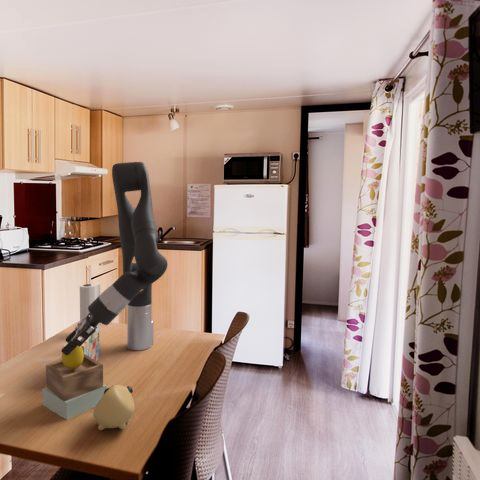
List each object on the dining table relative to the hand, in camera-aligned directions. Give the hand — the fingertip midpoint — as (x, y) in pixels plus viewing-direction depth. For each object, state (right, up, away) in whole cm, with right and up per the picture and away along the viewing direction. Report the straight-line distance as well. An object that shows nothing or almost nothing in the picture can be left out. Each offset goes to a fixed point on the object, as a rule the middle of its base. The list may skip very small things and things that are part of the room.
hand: (65, 347), depth 104 cm
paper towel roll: (-16, -11, +57) cm, 60 cm away
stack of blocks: (-5, -14, +24) cm, 29 cm away
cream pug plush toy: (+16, -18, -7) cm, 25 cm away
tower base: (+1, -17, +3) cm, 17 cm away
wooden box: (+1, -12, +2) cm, 12 cm away
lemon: (+1, -7, +1) cm, 7 cm away
